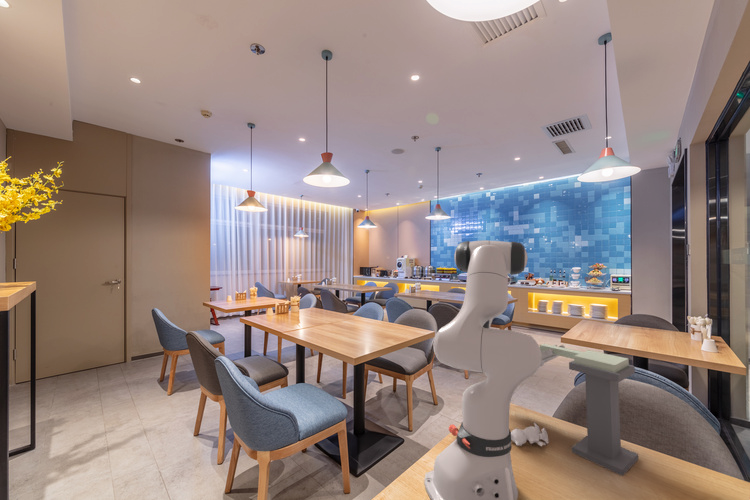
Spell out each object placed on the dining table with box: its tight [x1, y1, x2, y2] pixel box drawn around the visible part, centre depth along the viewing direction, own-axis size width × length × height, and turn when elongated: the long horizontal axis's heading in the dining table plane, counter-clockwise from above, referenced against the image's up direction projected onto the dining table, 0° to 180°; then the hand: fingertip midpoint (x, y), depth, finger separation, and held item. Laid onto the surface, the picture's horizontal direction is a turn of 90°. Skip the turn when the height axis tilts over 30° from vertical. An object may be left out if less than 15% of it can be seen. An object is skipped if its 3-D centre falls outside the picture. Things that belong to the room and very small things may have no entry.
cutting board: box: [539, 343, 630, 373], centre depth 93 cm, size 10×22×2 cm, turn 34°
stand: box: [568, 360, 639, 477], centre depth 88 cm, size 12×12×26 cm
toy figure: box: [511, 422, 549, 447], centre depth 94 cm, size 11×5×12 cm
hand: (558, 349), depth 98 cm, fingers open, 6 cm apart
